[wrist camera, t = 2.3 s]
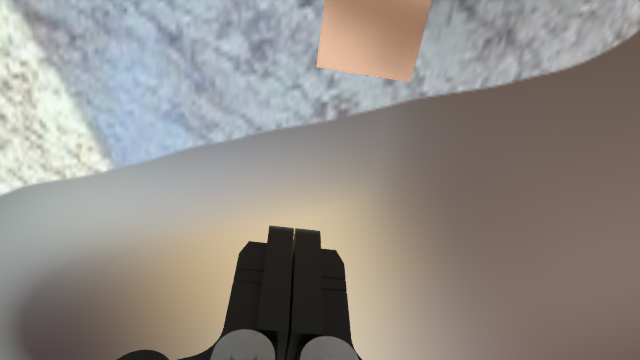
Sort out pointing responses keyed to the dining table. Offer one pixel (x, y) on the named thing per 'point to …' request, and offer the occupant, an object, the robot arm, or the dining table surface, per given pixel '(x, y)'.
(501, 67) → the dining table surface
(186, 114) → the dining table surface
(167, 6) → the dining table surface
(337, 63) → the lever
